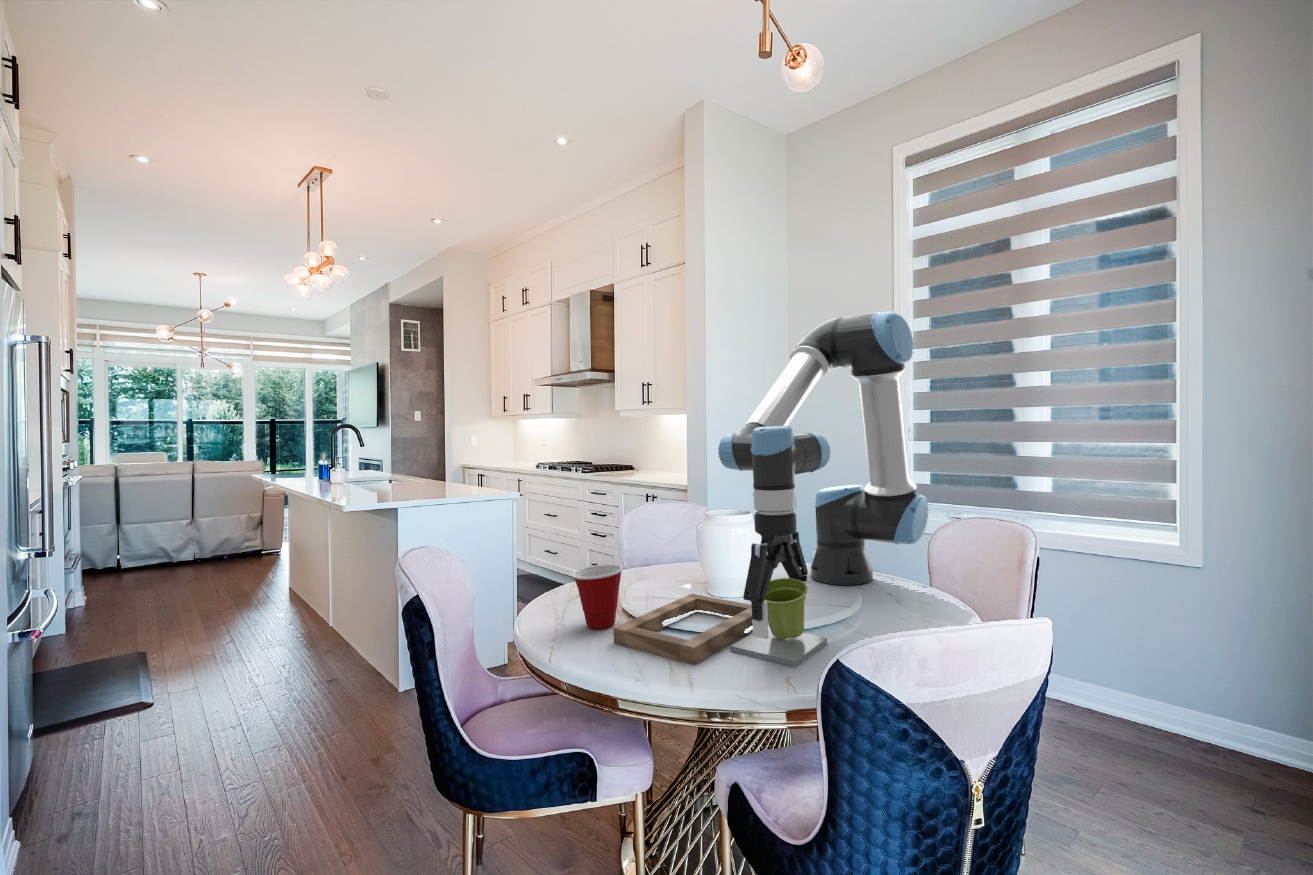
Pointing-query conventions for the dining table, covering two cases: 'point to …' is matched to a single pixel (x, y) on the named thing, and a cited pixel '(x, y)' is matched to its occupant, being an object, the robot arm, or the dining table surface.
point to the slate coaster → (780, 647)
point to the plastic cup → (599, 593)
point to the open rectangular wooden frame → (691, 651)
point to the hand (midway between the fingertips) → (779, 625)
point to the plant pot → (786, 607)
